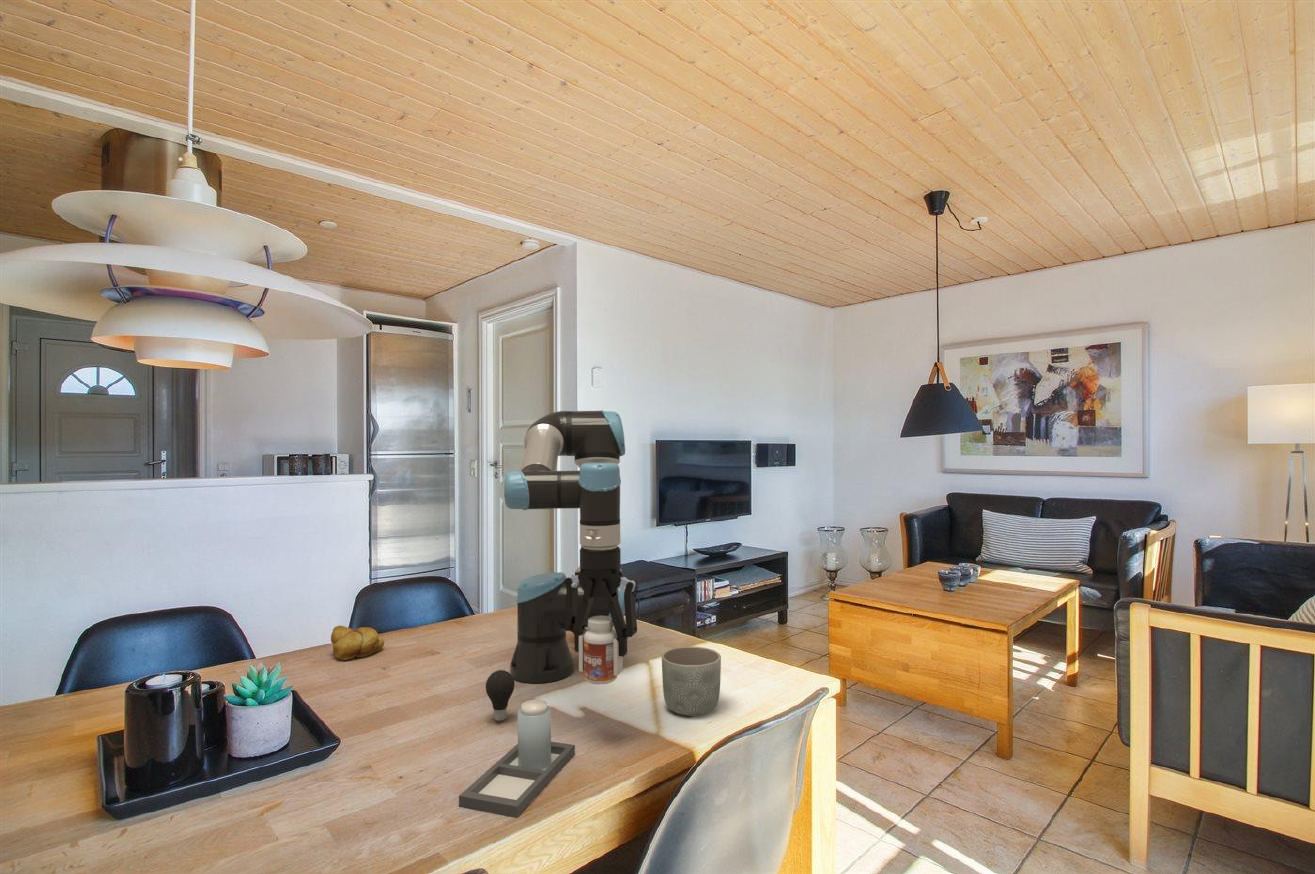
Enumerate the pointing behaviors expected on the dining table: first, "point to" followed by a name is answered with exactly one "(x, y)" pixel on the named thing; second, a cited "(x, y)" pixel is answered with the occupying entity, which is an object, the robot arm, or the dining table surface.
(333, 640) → the bread roll
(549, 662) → the robot arm
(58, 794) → the dining table surface
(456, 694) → the dining table surface
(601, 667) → the pill bottle
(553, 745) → the dark grey tray
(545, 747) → the pale blue jar
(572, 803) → the dining table surface
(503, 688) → the light bulb
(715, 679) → the planter
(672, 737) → the dining table surface
